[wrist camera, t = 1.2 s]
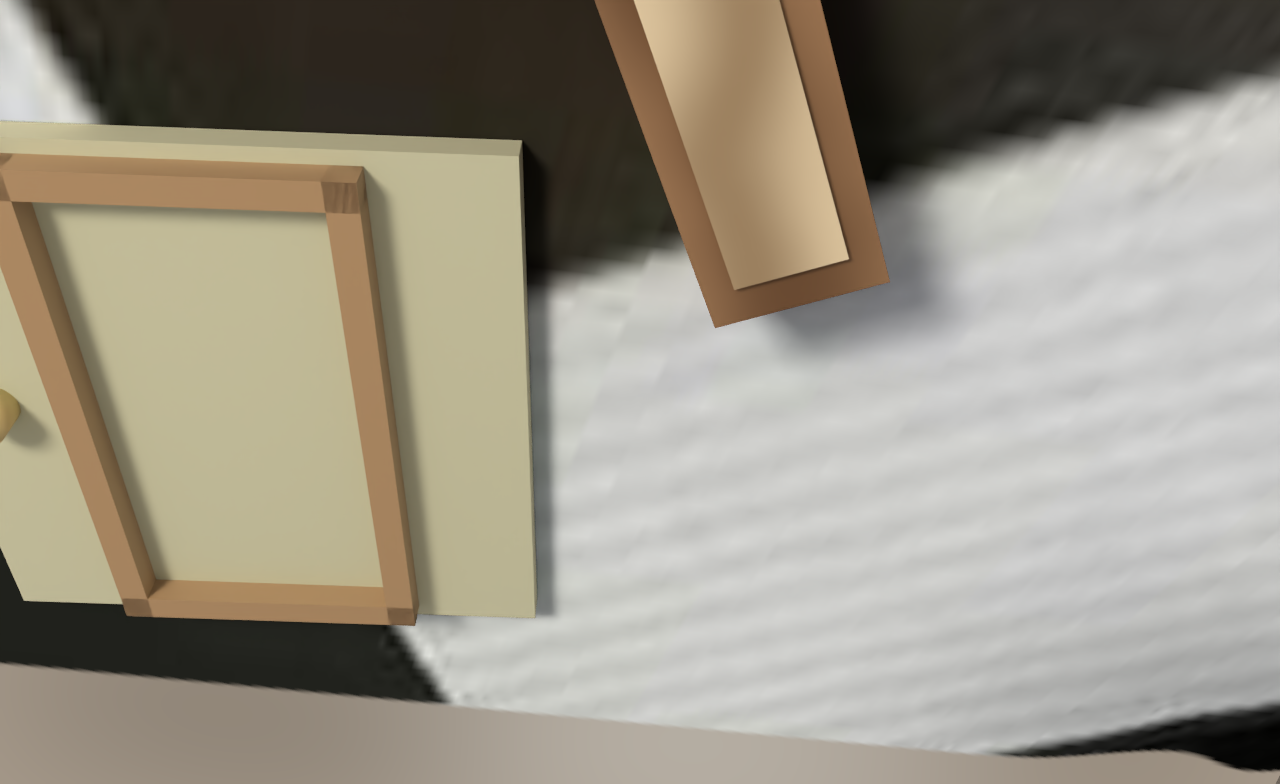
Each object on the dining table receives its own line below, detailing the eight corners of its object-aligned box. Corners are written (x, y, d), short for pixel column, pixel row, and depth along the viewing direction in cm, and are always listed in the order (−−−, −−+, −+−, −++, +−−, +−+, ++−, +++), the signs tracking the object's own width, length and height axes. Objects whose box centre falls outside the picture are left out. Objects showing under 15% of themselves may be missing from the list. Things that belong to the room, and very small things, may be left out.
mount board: (522, 140, 34) (514, 176, 33) (537, 598, 47) (532, 642, 45) (-165, 114, 34) (-208, 149, 32) (34, 581, 47) (10, 624, 45)
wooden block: (765, -212, 29) (780, -163, 25) (868, 200, 36) (890, 286, 32) (574, -142, 30) (561, -86, 26) (710, 244, 37) (715, 332, 33)
